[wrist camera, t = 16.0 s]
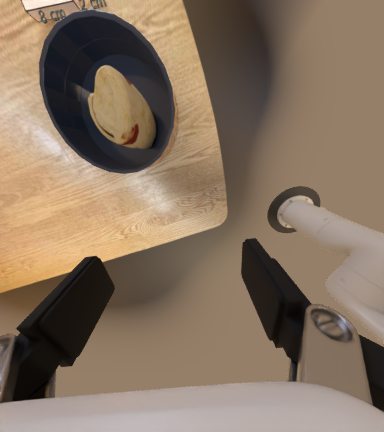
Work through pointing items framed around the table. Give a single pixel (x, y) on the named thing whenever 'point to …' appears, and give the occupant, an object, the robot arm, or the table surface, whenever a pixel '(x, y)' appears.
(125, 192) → the table surface
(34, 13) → the container
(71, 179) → the table surface
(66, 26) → the pot
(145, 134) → the food model
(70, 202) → the table surface
